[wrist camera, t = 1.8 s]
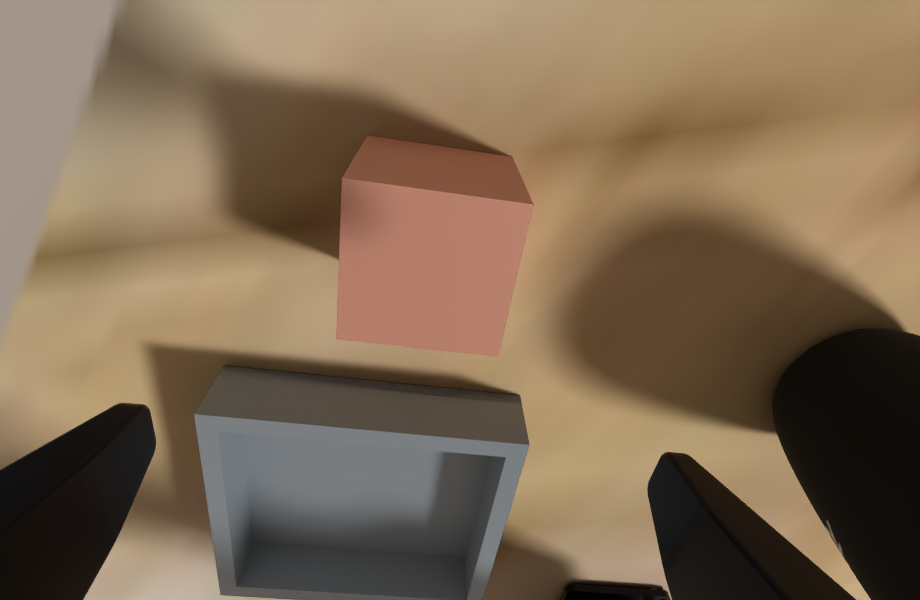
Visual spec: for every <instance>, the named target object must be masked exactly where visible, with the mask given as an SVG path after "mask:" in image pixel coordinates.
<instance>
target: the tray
mask: <svg viewBox="0 0 920 600" xmlns="http://www.w3.org/2000/svg"><path fill="white" fill-rule="evenodd" d="M194 418H195V424H196V431H197V438H198V445H199V452H200V458H201V465H202V472H203V479H204V486H205V492H206V499H207V506H208V513H209V519H210V526H211V533H212V540H213V547H214V553H215V560H216V567H217V574H218V581H219V587H220V594H221V595H227V596H244V597H261V598H278V599H295V600H483V597H484V594H485V590H486V587H487V584H488V580H489V577H490V574H491V570H492V567H493V564H494V560H495V557H496V554H497V551H498V547H499V544H500V541H501V537H502V534H503V531H504V527H505V524H506V521H507V518H508V514H509V511H510V508H511V504H512V501H513V498H514V494H515V491H516V488H517V485H518V481H519V478H520V475H521V471H522V468H523V465H524V461H525V458H526V455H527V451H528V448H529V440H528V435H527V430H526V424H525V419H524V414H523V409H522V403H521V398H520V395H510V394H501V393H491V392H481V391H471V390H461V389H451V388H441V387H431V386H421V385H412V384H402V383H392V382H382V381H372V380H362V379H352V378H342V377H332V376H323V375H313V374H303V373H293V372H283V371H273V370H263V369H253V368H243V367H234V366H223V368H222V370H221V371H220V373H219V375H218V376H217V378H216V379H215V381H214V383H213V384H212V386H211V387H210V389H209V391H208V392H207V394H206V396H205V397H204V399H203V400H202V402H201V404H200V405H199V407H198V409H197V410H196V412H195V413H194Z"/></svg>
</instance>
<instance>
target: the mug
mask: <svg viewBox="0 0 920 600" xmlns="http://www.w3.org/2000/svg"><path fill="white" fill-rule="evenodd" d="M773 417H774V423H775V428H776V431H777V435H778V437H779V440H780V442H781V445H782V447H783V450H784V452H785V454H786V456H787V459H788V461H789V463H790V465H791V467H792V469H793V471H794V473H795V475H796V477H797V479H798V480H799V482H800V484H801V486H802V488H803V490H804V492H805V493H806V495H807V497H808V499H809V500H810V502H811V504H812V506H813V507H814V509H815V511H816V513H817V514H818V516H819V518H820V519H821V521H822V523H823V524H824V526H825V528H826V529H827V531H828V533H829V534H830V536H831V538H832V539H833V541H834V543H835V544H836V546H837V547H838V549H839V551H840V552H841V554H842V556H843V557H844V559H845V560H846V562H847V563H848V565H849V567H850V568H851V570H852V571H853V573H854V574H855V576H856V578H857V579H858V581H859V582H860V584H861V585H862V587H863V588H864V590H865V591H866V593H867V594H868V596H869V597H870V599H871V600H920V336H919V335H915V334H911V333H906V332H902V331H897V330H889V329H862V330H856V331H851V332H847V333H844V334H840V335H837V336H835V337H832V338H830V339H827V340H825V341H823V342H821V343H819V344H818V345H816V346H814V347H813V348H811V349H810V350H808V351H807V352H805V353H804V354H803V355H801V356H800V357H799V358H798V359H797V360H796V361H795V362H794V363H793V364H792V365H791V366H790V367H789V368H788V369H787V370H786V372H785V373H784V375H783V376H782V378H781V379H780V381H779V383H778V385H777V387H776V390H775V393H774V398H773Z"/></svg>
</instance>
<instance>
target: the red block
mask: <svg viewBox="0 0 920 600" xmlns="http://www.w3.org/2000/svg"><path fill="white" fill-rule="evenodd" d="M533 205H534V204H533V202H532V200H531V198H530V195H529V193H528V191H527V189H526V186H525V184H524V182H523V180H522V177H521V175H520V173H519V171H518V168H517V166H516V164H515V162H514V159H513V157H511V156H504V155H498V154H491V153H484V152H477V151H470V150H464V149H457V148H450V147H443V146H437V145H430V144H423V143H416V142H409V141H403V140H396V139H389V138H382V137H375V136H369V135H367V137H366V139H365V140H364V142H363V144H362V145H361V147H360V149H359V150H358V152H357V154H356V155H355V157H354V159H353V160H352V162H351V164H350V165H349V167H348V169H347V170H346V172H345V174H344V175H343V177H342V188H341V217H340V245H339V273H338V302H337V330H336V339H340V340H349V341H358V342H368V343H377V344H386V345H395V346H405V347H414V348H423V349H432V350H442V351H451V352H460V353H469V354H479V355H488V356H497V357H498V355H499V351H500V347H501V342H502V338H503V334H504V329H505V325H506V321H507V317H508V312H509V308H510V304H511V299H512V295H513V291H514V286H515V282H516V278H517V273H518V269H519V265H520V261H521V256H522V252H523V248H524V243H525V239H526V235H527V230H528V226H529V222H530V218H531V213H532V209H533Z"/></svg>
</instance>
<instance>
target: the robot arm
mask: <svg viewBox="0 0 920 600" xmlns="http://www.w3.org/2000/svg"><path fill="white" fill-rule="evenodd" d="M155 448H156V437H155V432H154V428H153V423H152V418H151V413H150V410H149V408H148V407H147V406H146V405H143V404H132V403H119V404H117V405H115V406H113V407H111V408H109V409H107V410H106V411H104V412H102V413H100V414H98V415H97V416H95V417H93V418H91V419H90V420H88V421H86V422H84V423H83V424H81V425H79V426H77V427H75V428H74V429H72V430H70V431H68V432H67V433H65V434H63V435H61V436H59V437H58V438H56V439H54V440H52V441H51V442H49V443H47V444H45V445H43V446H42V447H40V448H38V449H36V450H35V451H33V452H31V453H29V454H27V455H26V456H24V457H22V458H20V459H19V460H17V461H15V462H13V463H12V464H10V465H8V466H6V467H4V468H3V469H1V470H0V600H83V599H84V597H85V595H86V594H87V592H88V590H89V588H90V587H91V585H92V583H93V581H94V579H95V578H96V576H97V574H98V572H99V571H100V569H101V567H102V565H103V564H104V562H105V560H106V558H107V556H108V555H109V553H110V551H111V549H112V547H113V545H114V543H115V541H116V539H117V537H118V535H119V533H120V531H121V529H122V526H123V524H124V522H125V519H126V517H127V515H128V513H129V510H130V508H131V506H132V503H133V501H134V499H135V496H136V494H137V492H138V489H139V487H140V485H141V483H142V480H143V478H144V476H145V473H146V471H147V469H148V466H149V464H150V462H151V459H152V457H153V455H154V452H155ZM648 498H649V503H650V507H651V512H652V517H653V522H654V526H655V531H656V536H657V541H658V545H659V550H660V555H661V560H662V564H663V569H664V573H665V577H666V580H667V584H668V587H669V591H670V594H671V597H672V600H856V599H855V598H854V597H852V596H851V595H850V594H849V593H848V592H847V591H846V590H844V589H843V588H842V587H841V586H840V585H839V584H837V583H836V582H835V581H834V580H833V579H832V578H830V577H829V576H828V575H827V574H826V573H825V572H824V571H822V570H821V569H820V568H819V567H818V566H817V565H815V564H814V563H813V562H812V561H811V560H810V559H809V558H807V557H806V556H805V555H804V554H803V553H802V552H800V551H799V550H798V549H797V548H796V547H795V546H793V545H792V544H791V543H790V542H789V541H788V540H787V539H785V538H784V537H783V536H782V535H781V534H780V533H778V532H777V531H776V530H775V529H774V528H773V527H772V526H770V525H769V524H768V523H767V522H766V521H765V520H763V519H762V518H761V517H760V516H759V515H758V514H756V513H755V512H754V511H753V510H752V509H751V508H750V507H748V506H747V505H746V504H745V503H744V502H743V501H741V500H740V499H739V498H738V497H737V496H736V495H734V494H733V493H732V492H731V491H730V490H729V489H728V488H726V487H725V486H724V485H723V484H722V483H721V482H719V481H718V480H717V479H716V478H715V477H714V476H713V475H711V474H710V473H709V472H708V471H707V470H706V469H704V468H703V467H702V466H701V465H700V464H699V463H697V462H696V461H695V460H694V459H693V458H692V457H690V456H689V455H687V454H684V453H673V452H666V453H664V454H663V455H662V456H661V457H660V459H659V461H658V464H657V466H656V468H655V470H654V472H653V474H652V476H651V478H650V480H649V483H648ZM560 600H670V597H669V594H668V592H667V591H665V590H654V589H639V588H623V587H608V586H593V585H577V584H572V585H568V586H567V587H566V588H565V589H564V592H563V594H562V596H561V598H560Z"/></svg>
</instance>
